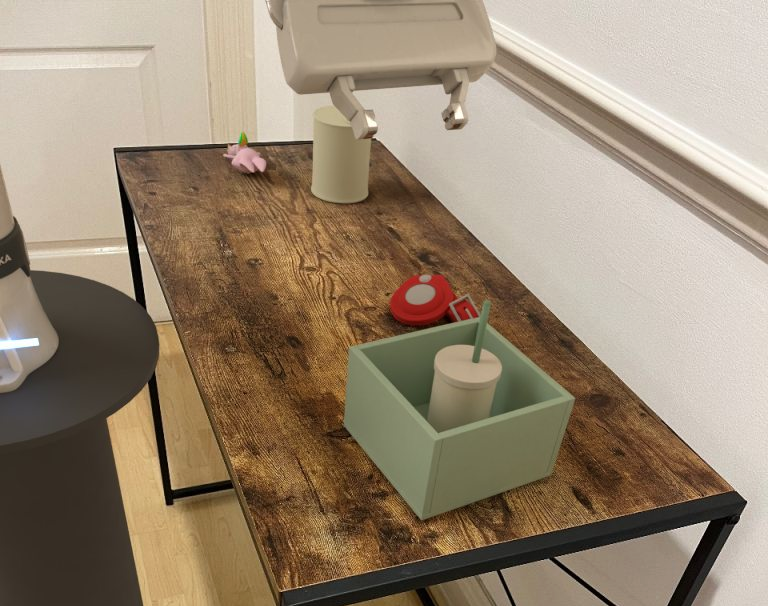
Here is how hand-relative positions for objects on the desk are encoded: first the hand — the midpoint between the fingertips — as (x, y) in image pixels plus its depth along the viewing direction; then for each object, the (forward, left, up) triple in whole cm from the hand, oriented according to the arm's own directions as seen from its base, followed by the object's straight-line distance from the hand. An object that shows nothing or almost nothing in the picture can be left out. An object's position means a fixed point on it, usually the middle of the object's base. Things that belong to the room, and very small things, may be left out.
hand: (414, 131), depth 69 cm
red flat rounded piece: (+13, +11, -27) cm, 32 cm away
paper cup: (+1, -12, -27) cm, 29 cm away
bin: (0, -12, -27) cm, 30 cm away
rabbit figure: (+9, +62, -27) cm, 68 cm away
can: (+20, +50, -27) cm, 60 cm away
